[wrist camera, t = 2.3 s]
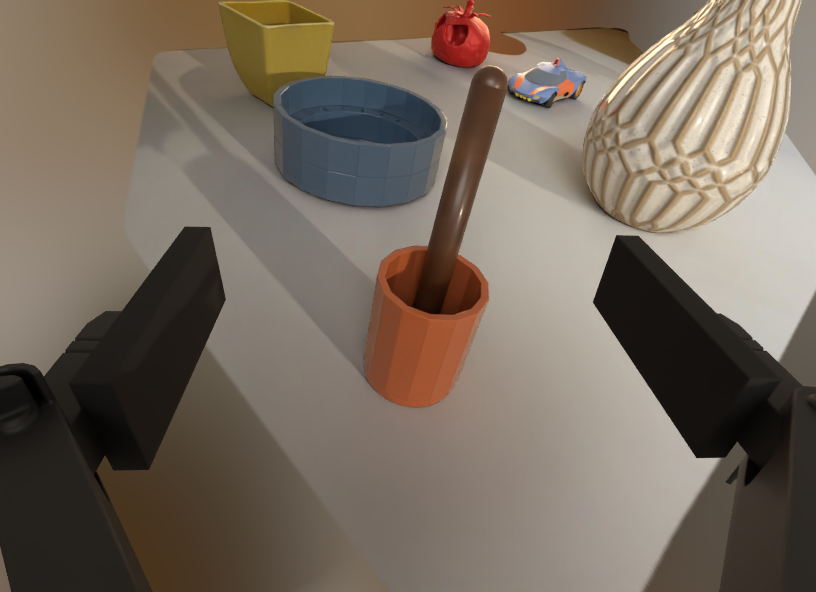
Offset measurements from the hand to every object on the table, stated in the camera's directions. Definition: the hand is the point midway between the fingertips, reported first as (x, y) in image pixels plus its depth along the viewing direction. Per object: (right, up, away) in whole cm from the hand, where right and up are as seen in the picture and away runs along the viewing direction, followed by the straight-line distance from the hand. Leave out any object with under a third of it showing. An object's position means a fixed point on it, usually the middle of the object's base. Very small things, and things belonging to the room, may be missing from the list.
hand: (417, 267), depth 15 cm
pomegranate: (+8, +39, +63) cm, 75 cm away
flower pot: (-15, +22, +39) cm, 47 cm away
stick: (0, -5, +12) cm, 13 cm away
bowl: (-5, +11, +29) cm, 32 cm away
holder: (0, -5, +12) cm, 13 cm away
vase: (+24, +8, +33) cm, 41 cm away
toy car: (+21, +30, +57) cm, 68 cm away
